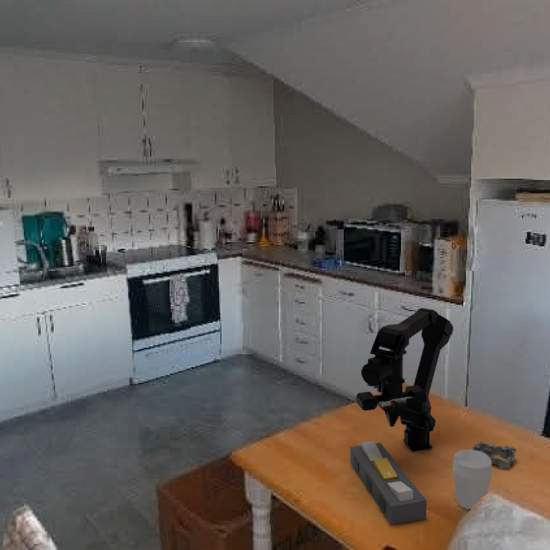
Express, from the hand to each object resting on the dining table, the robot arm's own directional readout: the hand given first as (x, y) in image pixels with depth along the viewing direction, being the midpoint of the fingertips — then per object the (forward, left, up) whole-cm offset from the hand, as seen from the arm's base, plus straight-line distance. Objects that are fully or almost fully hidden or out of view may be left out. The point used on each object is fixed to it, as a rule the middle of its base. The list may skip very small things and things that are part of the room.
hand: (391, 426), depth 154 cm
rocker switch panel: (+6, +10, -12) cm, 17 cm away
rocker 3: (+6, +19, -8) cm, 22 cm away
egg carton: (-29, +5, -12) cm, 32 cm away
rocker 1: (+6, +1, -8) cm, 10 cm away
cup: (-12, +21, -12) cm, 27 cm away
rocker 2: (+6, +10, -8) cm, 14 cm away
